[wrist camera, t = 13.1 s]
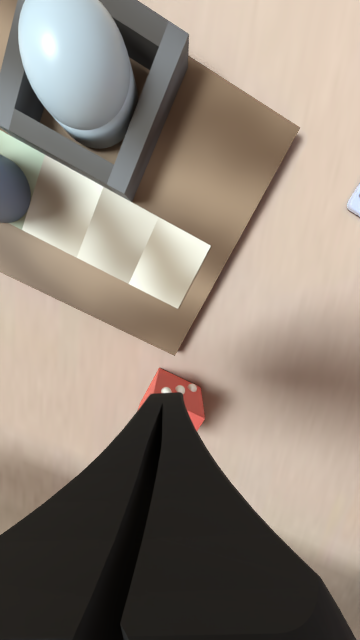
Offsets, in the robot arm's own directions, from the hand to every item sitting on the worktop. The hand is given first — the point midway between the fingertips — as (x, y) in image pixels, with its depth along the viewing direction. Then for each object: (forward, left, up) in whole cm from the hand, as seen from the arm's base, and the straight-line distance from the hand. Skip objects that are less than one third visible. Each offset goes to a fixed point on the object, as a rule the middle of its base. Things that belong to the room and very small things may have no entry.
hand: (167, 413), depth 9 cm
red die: (+5, +2, -9) cm, 11 cm away
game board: (-8, -11, -9) cm, 16 cm away
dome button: (-12, -11, -8) cm, 18 cm away
